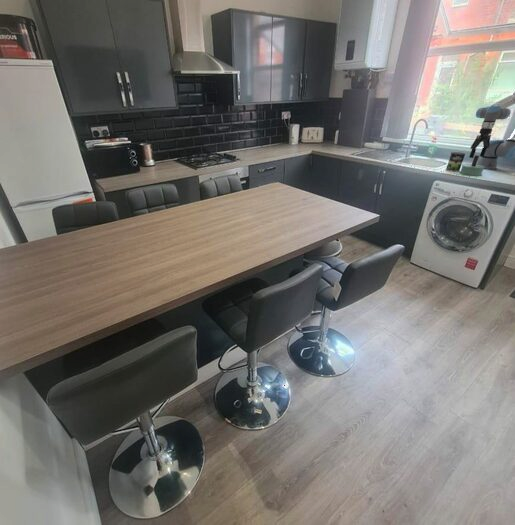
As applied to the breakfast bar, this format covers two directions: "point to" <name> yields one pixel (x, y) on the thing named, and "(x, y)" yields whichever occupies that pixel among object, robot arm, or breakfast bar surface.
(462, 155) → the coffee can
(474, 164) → the pot lid
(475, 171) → the pot
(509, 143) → the robot arm
